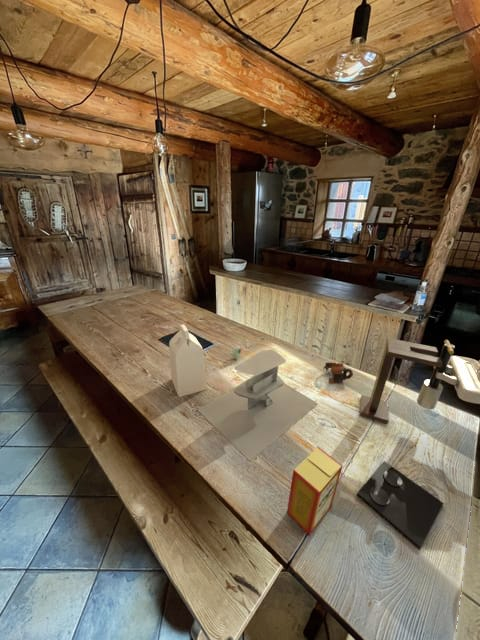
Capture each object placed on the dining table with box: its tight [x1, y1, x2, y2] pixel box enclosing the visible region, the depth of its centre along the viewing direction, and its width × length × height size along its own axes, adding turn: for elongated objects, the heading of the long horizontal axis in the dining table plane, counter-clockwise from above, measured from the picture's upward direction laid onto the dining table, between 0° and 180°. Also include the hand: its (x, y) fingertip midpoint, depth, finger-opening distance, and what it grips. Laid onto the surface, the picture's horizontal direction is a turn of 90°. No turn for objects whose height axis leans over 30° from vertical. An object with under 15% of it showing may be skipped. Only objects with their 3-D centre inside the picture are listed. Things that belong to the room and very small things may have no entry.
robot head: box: [229, 345, 242, 360], centre depth 125 cm, size 8×4×7 cm, turn 154°
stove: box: [356, 460, 444, 550], centre depth 68 cm, size 15×15×1 cm
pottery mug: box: [322, 362, 354, 385], centre depth 113 cm, size 12×10×8 cm
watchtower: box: [196, 349, 319, 462], centre depth 94 cm, size 36×28×20 cm
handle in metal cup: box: [416, 339, 456, 410], centre depth 84 cm, size 5×7×23 cm
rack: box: [359, 337, 442, 425], centre depth 90 cm, size 17×10×28 cm, turn 65°
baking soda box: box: [286, 446, 343, 536], centre depth 63 cm, size 10×6×16 cm
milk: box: [168, 323, 208, 398], centre depth 103 cm, size 12×12×26 cm
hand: (435, 371), depth 83 cm, fingers closed on handle in metal cup, 2 cm apart
